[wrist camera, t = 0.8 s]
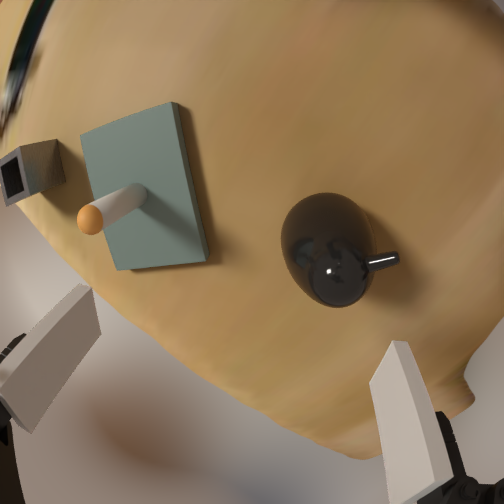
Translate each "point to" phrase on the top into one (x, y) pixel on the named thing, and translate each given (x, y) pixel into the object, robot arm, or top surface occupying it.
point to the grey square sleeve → (30, 170)
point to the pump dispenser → (332, 249)
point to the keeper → (143, 191)
